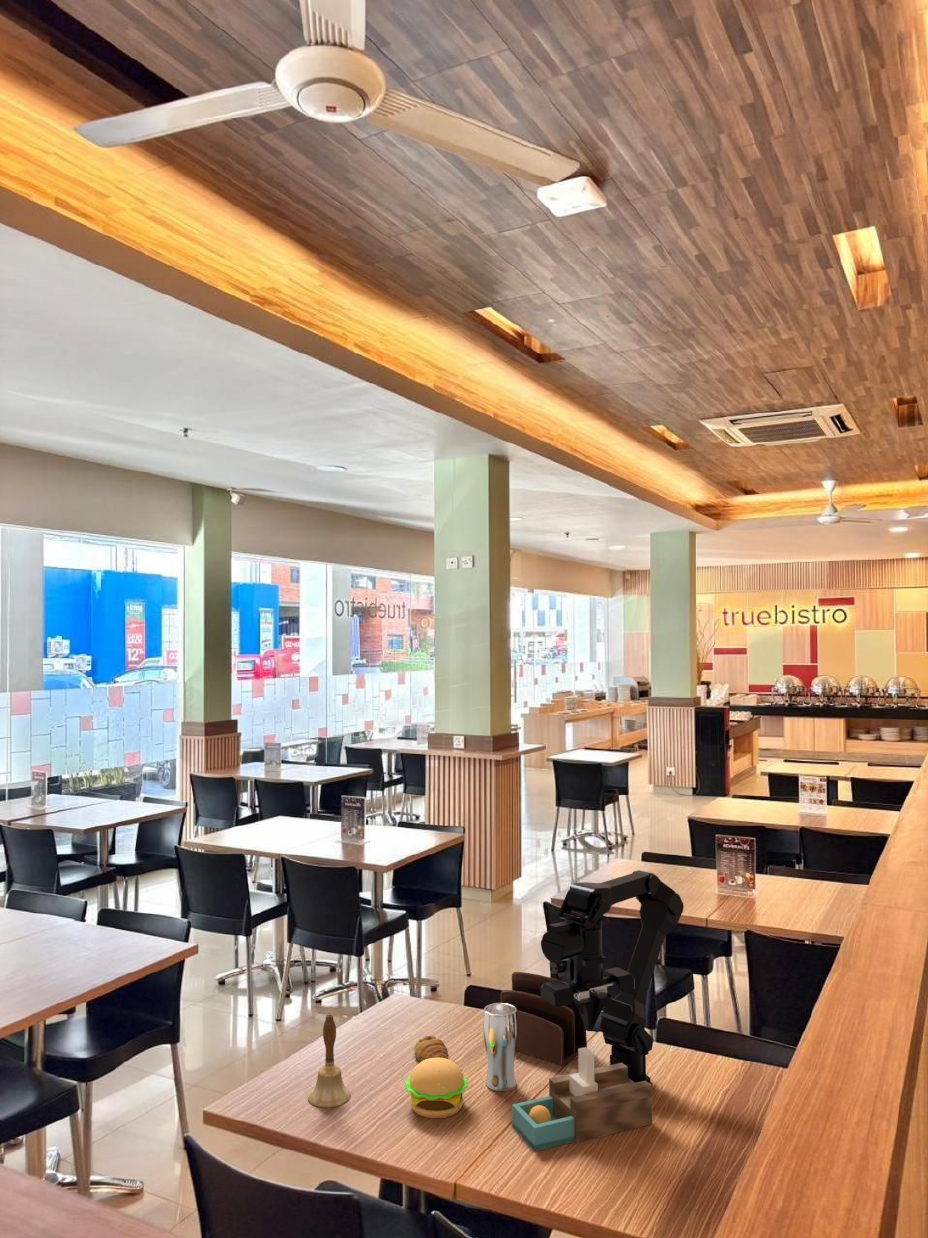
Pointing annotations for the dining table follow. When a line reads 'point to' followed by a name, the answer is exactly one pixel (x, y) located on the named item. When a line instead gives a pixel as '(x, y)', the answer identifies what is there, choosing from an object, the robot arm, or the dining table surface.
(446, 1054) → the pastry
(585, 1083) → the white offset block
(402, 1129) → the dining table surface
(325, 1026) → the hand bell
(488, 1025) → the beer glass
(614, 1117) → the launcher deck
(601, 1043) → the dining table surface
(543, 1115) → the ball
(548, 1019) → the letter holder
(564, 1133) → the teal open box
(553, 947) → the robot arm
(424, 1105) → the hamburger
